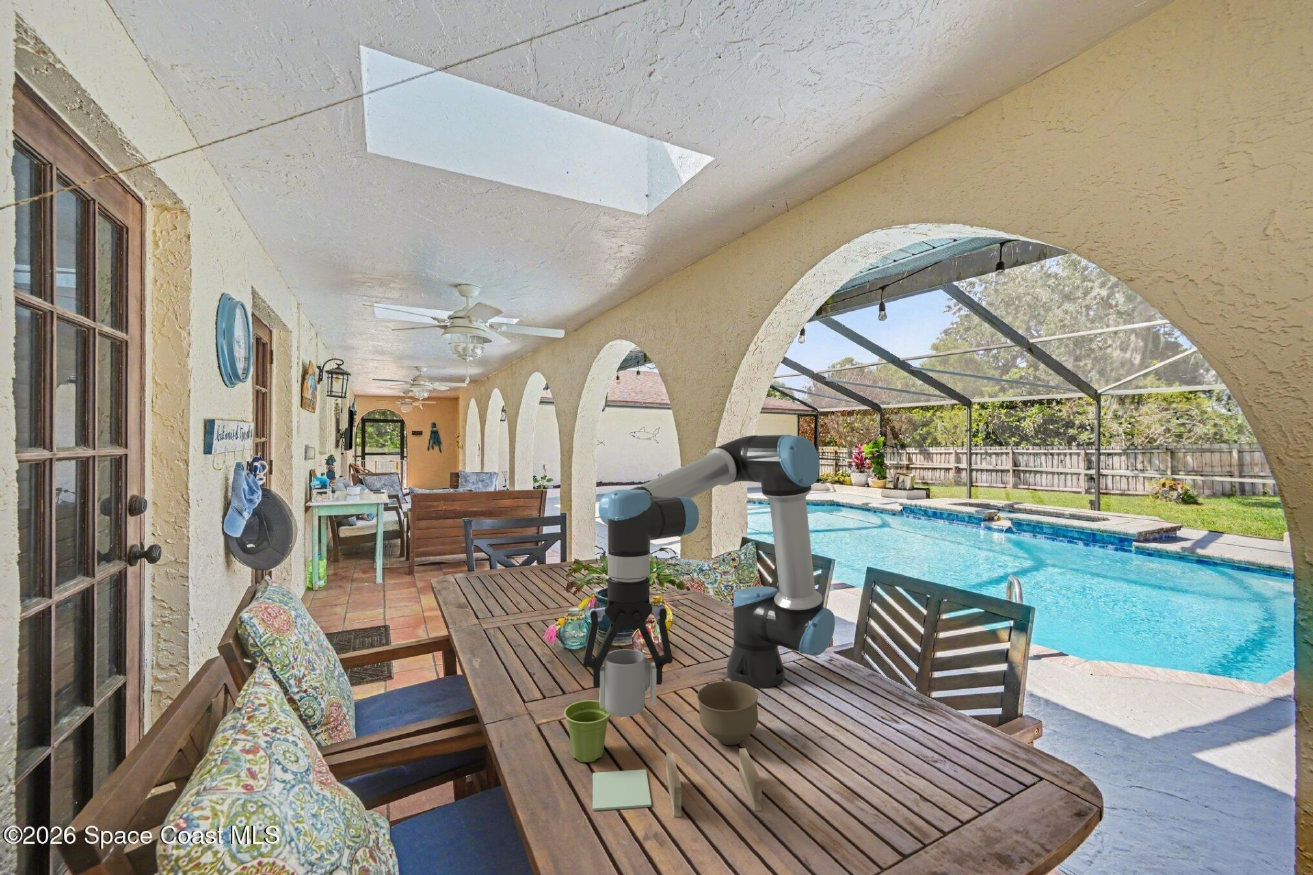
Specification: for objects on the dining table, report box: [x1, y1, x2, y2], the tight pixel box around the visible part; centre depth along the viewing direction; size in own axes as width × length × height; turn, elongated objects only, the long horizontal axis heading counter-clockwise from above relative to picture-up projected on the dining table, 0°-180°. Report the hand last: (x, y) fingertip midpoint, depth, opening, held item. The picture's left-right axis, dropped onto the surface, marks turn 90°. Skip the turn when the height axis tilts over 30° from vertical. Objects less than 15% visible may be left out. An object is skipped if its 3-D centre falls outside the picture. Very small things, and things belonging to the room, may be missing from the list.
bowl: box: [696, 680, 759, 746], centre depth 115 cm, size 13×13×10 cm
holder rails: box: [665, 747, 763, 818], centre depth 98 cm, size 15×10×5 cm, turn 97°
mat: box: [592, 769, 652, 812], centre depth 99 cm, size 10×10×1 cm
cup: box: [603, 648, 652, 718], centre depth 99 cm, size 7×10×9 cm
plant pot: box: [563, 699, 611, 763], centre depth 110 cm, size 9×9×9 cm
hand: (627, 703), depth 99 cm, fingers closed on cup, 8 cm apart
